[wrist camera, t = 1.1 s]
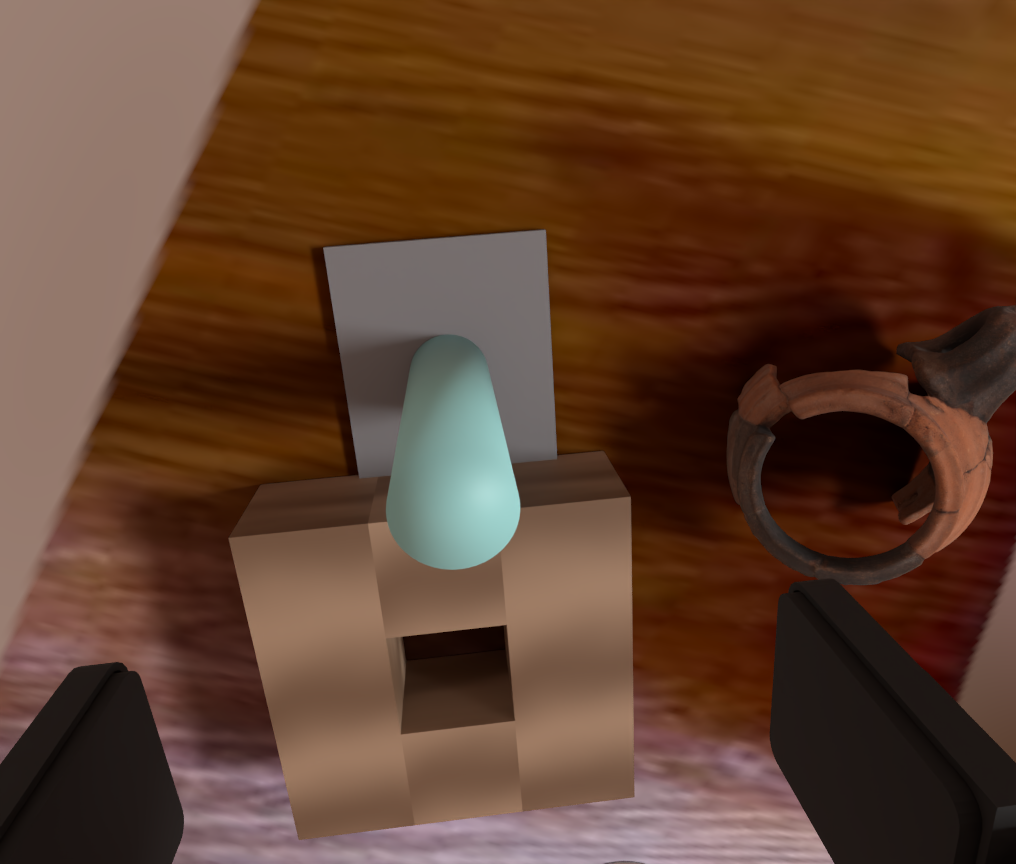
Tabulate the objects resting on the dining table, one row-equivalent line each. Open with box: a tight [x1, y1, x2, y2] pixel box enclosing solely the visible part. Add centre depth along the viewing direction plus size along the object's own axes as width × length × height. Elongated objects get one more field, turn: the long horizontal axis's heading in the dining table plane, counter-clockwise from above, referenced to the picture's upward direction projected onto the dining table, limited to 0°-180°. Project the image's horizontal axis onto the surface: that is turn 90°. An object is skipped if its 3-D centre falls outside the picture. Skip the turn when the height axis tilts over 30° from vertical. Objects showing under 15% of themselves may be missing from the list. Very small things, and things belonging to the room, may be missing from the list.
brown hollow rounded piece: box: [727, 305, 1016, 585], centre depth 27 cm, size 12×10×8 cm
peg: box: [386, 334, 520, 570], centre depth 21 cm, size 3×3×12 cm
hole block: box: [229, 451, 634, 840], centre depth 29 cm, size 14×14×4 cm
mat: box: [323, 229, 557, 479], centre depth 27 cm, size 10×8×1 cm
